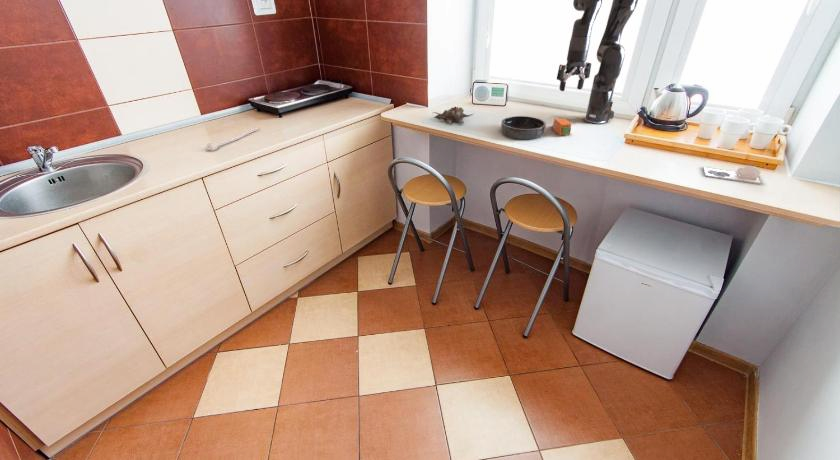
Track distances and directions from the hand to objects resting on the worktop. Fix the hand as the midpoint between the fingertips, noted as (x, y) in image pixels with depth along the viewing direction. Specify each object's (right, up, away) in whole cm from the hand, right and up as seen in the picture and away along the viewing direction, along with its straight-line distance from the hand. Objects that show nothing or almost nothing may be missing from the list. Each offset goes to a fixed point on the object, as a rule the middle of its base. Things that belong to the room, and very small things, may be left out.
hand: (570, 89), depth 164 cm
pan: (-19, -17, +5) cm, 26 cm away
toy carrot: (-2, -17, +5) cm, 18 cm away
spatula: (-146, -20, +6) cm, 148 cm away
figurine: (-48, -6, +23) cm, 54 cm away
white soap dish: (+40, -42, -35) cm, 67 cm away
